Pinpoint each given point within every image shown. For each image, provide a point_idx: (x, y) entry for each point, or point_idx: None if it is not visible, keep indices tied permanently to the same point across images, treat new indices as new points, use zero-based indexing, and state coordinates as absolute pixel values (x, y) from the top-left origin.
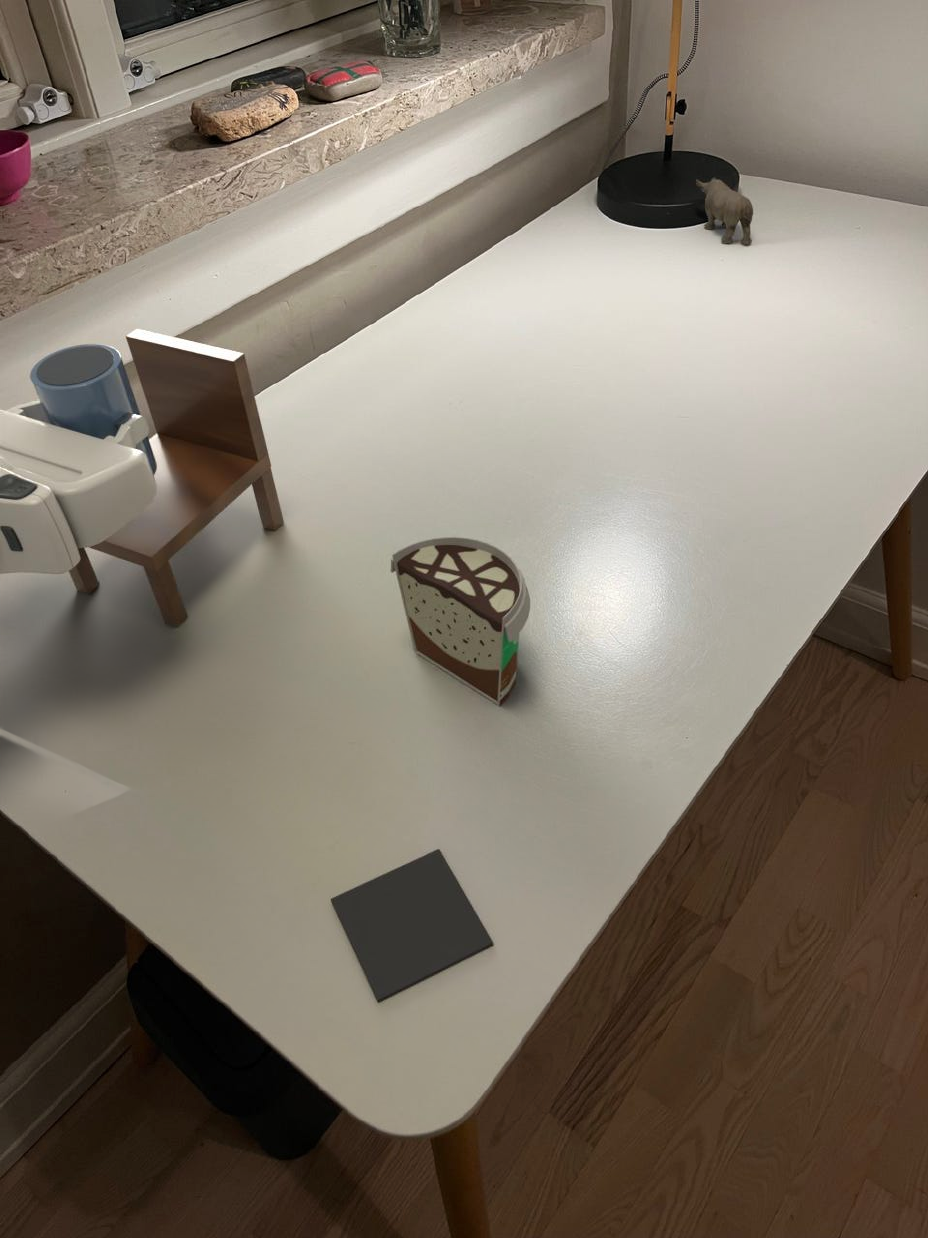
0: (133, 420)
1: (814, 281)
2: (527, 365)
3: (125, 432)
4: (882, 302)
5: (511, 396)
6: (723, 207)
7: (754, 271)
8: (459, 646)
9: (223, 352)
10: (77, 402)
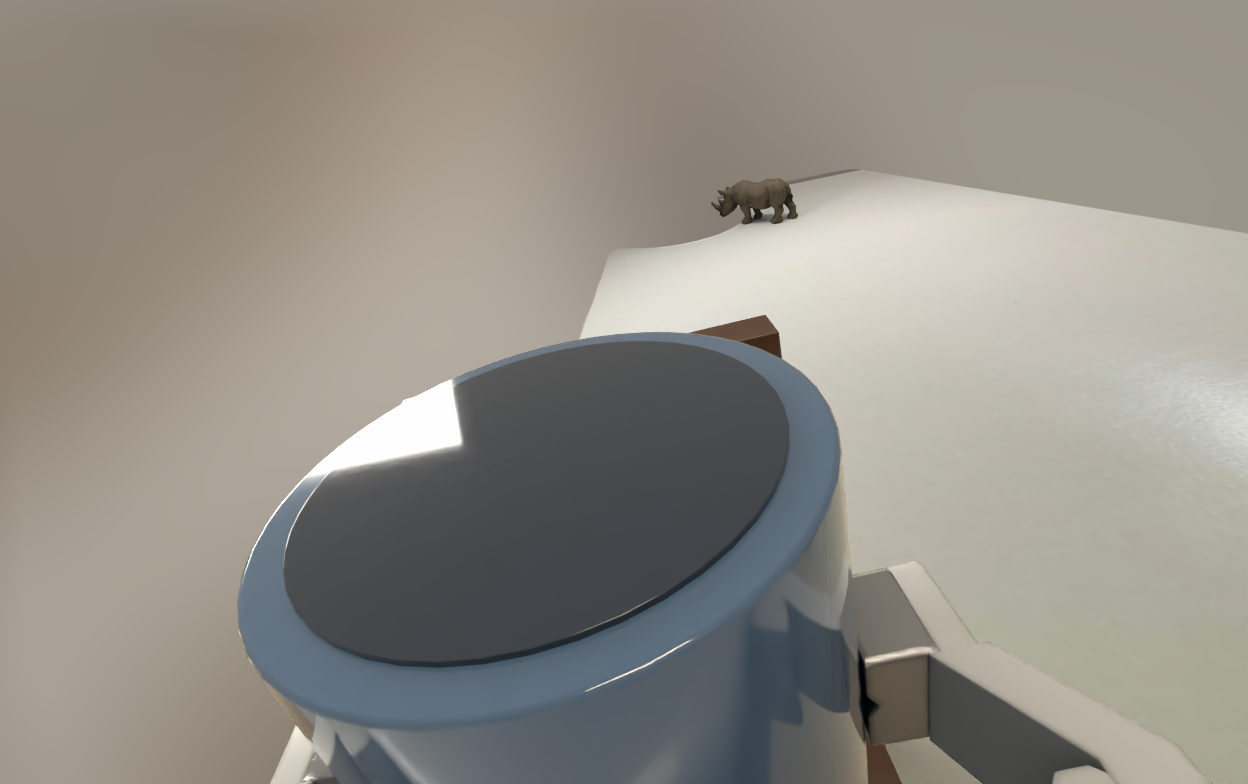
0: (941, 600)
1: (889, 210)
2: (780, 339)
3: (1073, 689)
4: (963, 199)
5: (817, 365)
6: (766, 193)
7: (834, 223)
8: None
9: (714, 334)
10: (801, 671)
